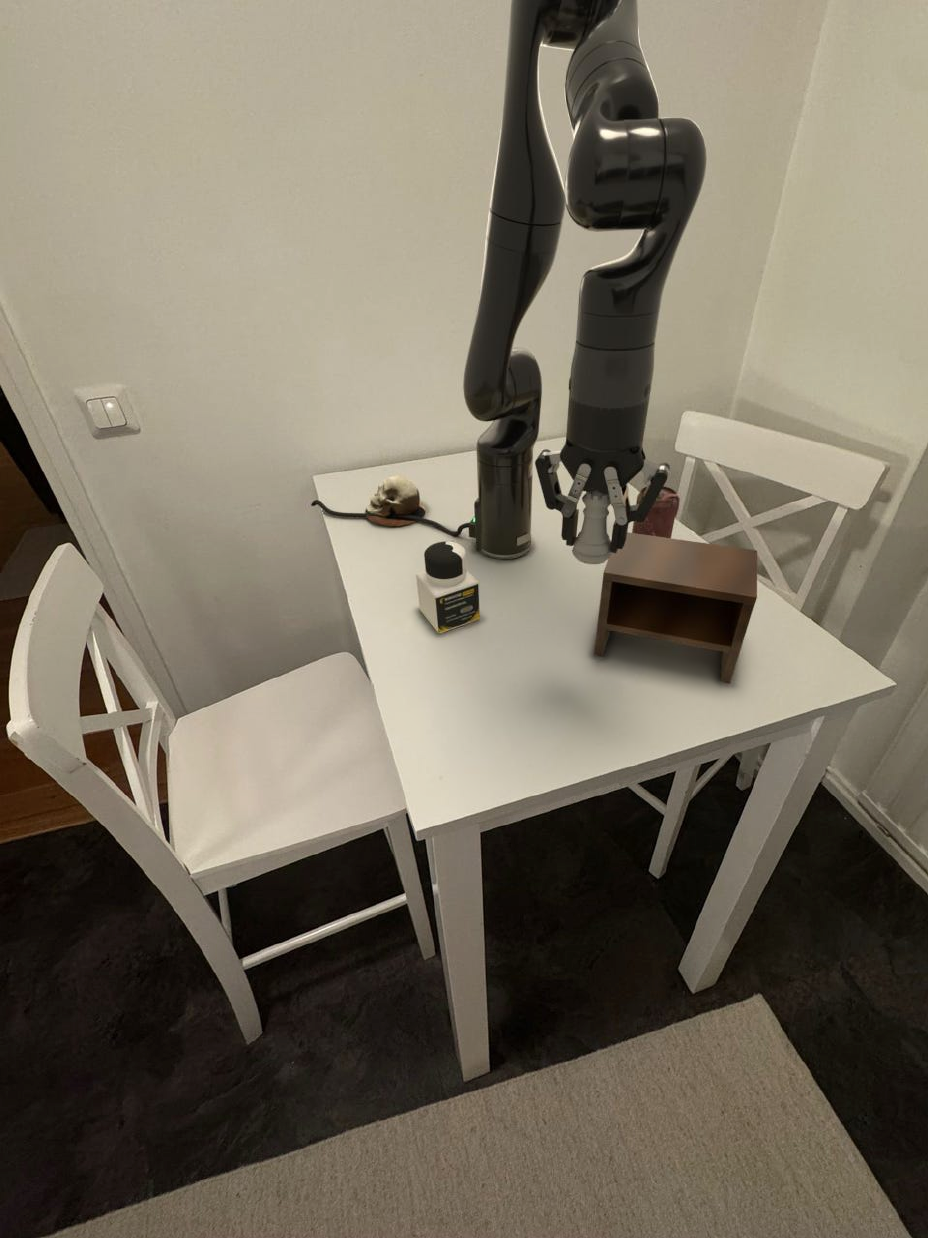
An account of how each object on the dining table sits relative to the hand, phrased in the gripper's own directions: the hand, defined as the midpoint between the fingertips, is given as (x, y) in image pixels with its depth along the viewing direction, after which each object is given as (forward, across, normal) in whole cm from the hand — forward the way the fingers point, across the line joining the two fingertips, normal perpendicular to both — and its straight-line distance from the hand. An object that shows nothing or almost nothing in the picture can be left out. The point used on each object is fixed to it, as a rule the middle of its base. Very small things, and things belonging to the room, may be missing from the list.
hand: (592, 545), depth 68 cm
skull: (+22, +45, -36) cm, 62 cm away
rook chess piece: (+1, 0, 0) cm, 1 cm away
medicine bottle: (+22, +22, -8) cm, 32 cm away
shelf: (+21, -10, -12) cm, 26 cm away
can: (+22, -5, -30) cm, 38 cm away
